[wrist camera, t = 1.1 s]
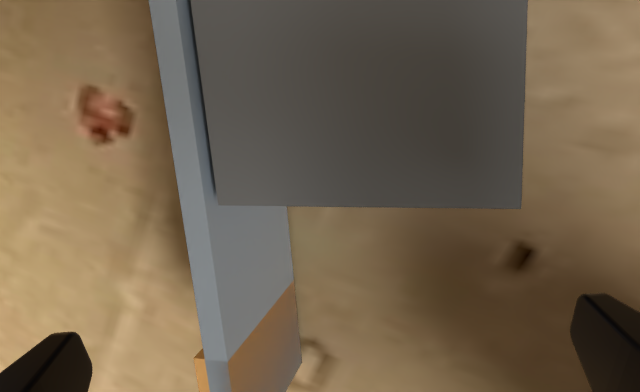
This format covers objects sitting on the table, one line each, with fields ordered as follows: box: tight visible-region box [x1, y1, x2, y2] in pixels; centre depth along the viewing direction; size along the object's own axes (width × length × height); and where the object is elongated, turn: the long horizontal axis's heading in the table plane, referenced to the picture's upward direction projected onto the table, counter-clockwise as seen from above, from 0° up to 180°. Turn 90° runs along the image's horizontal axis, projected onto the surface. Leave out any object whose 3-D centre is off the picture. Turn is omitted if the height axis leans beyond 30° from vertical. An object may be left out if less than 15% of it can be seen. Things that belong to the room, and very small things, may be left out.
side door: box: [149, 0, 302, 392], centre depth 16 cm, size 22×1×6 cm, turn 5°
